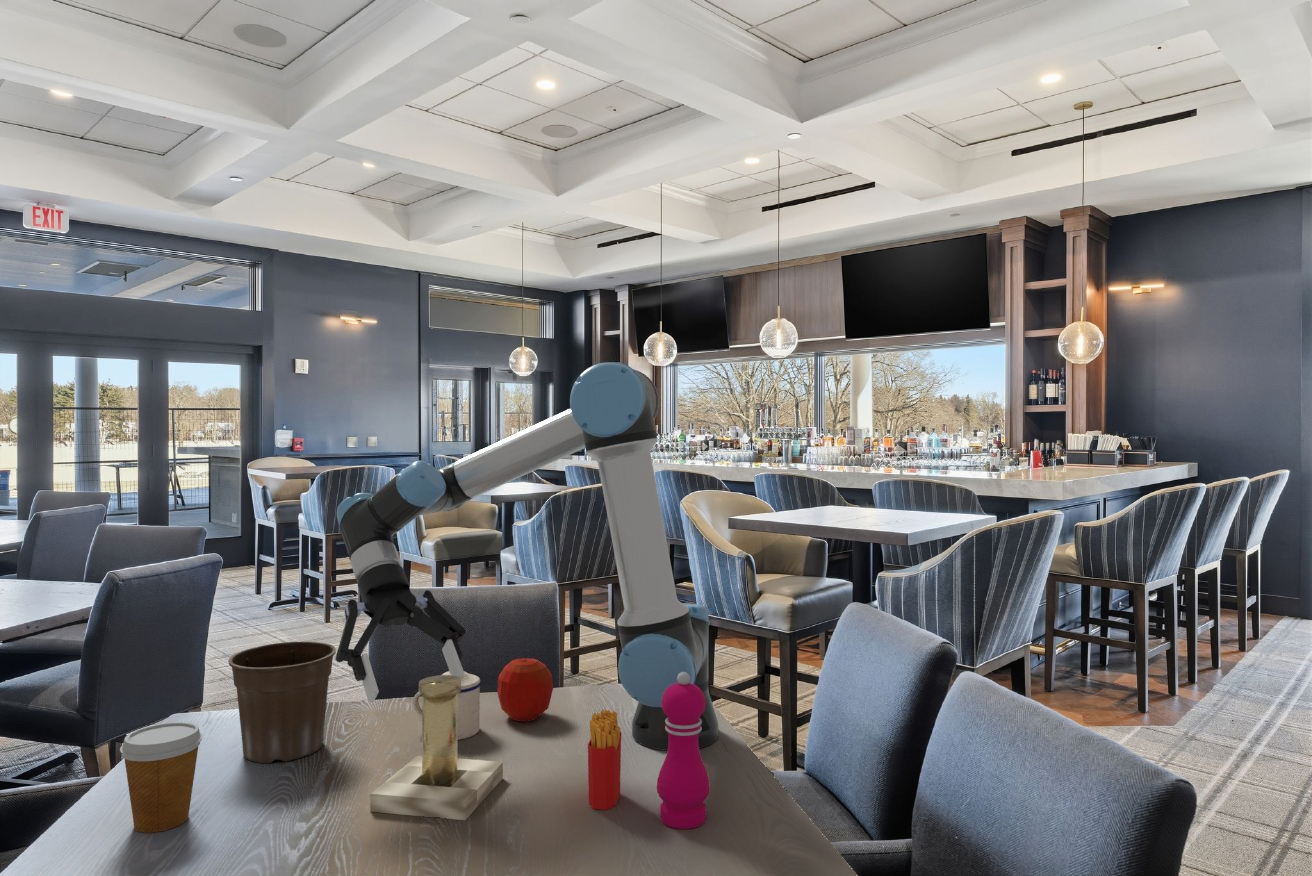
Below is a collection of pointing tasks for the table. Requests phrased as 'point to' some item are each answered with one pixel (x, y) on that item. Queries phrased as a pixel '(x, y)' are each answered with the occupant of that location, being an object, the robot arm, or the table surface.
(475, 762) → the socket block
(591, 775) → the french fries
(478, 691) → the teacup with lid
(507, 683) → the apple
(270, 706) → the plant pot
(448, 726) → the gold stepped cylinder
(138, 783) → the disposable coffee cup
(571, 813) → the table surface
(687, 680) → the pepper mill
